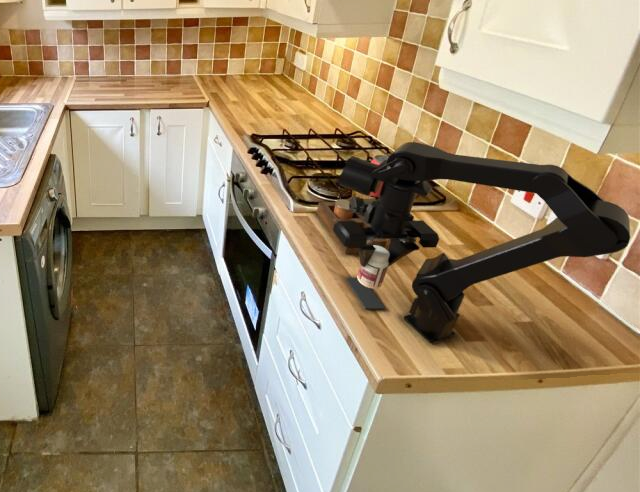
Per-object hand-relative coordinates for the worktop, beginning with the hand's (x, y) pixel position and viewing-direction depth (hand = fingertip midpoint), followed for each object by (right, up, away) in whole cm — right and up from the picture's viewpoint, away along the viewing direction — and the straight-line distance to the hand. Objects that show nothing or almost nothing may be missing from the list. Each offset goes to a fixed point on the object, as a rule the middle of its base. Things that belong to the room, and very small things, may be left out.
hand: (374, 265), depth 88 cm
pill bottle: (0, -4, +2) cm, 5 cm away
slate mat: (0, -7, +4) cm, 8 cm away
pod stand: (+7, +2, +23) cm, 24 cm away
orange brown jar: (+7, +4, +27) cm, 28 cm away
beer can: (+25, +11, +41) cm, 49 cm away
